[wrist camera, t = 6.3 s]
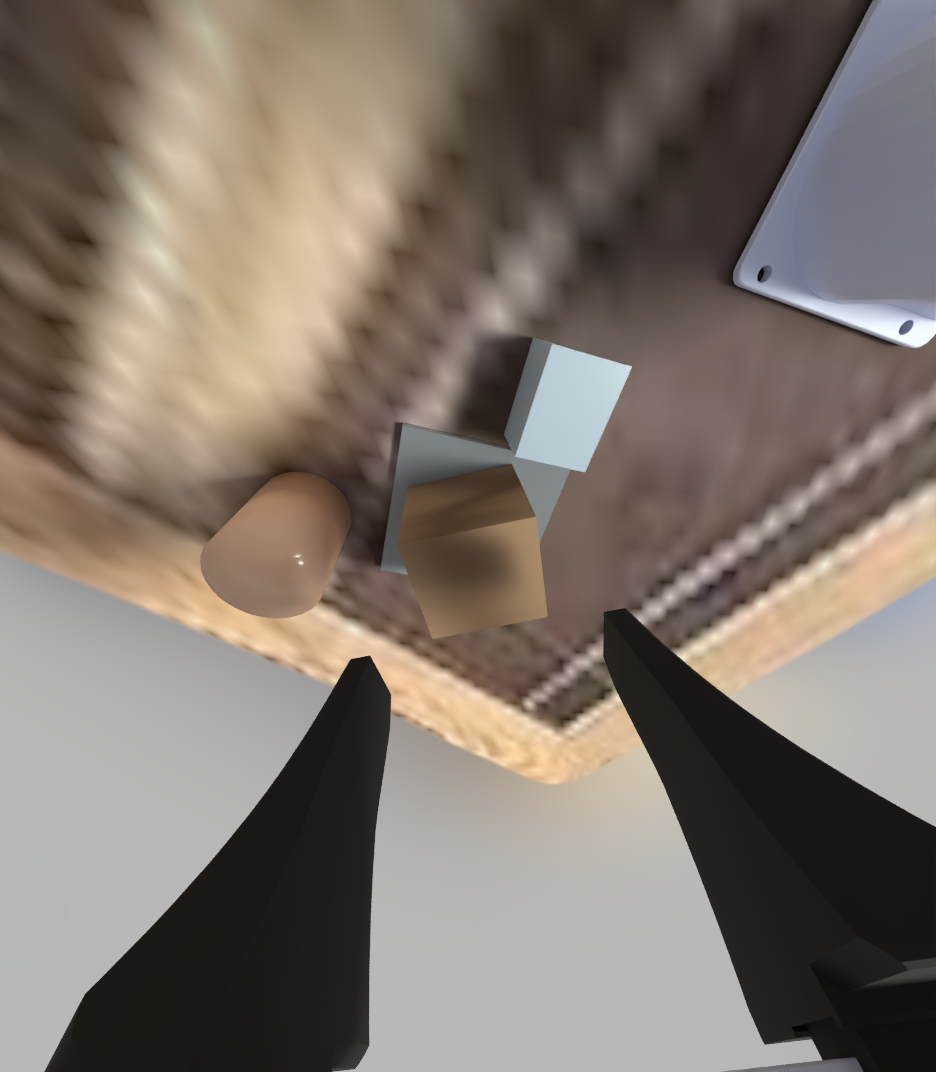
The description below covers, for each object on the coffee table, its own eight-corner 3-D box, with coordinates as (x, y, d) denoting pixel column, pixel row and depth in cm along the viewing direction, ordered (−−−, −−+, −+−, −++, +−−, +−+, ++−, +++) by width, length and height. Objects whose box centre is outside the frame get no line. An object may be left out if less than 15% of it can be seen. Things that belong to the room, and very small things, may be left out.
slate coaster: (569, 461, 17) (572, 464, 17) (517, 586, 21) (518, 591, 21) (403, 423, 16) (402, 425, 15) (381, 565, 20) (380, 570, 19)
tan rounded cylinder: (355, 482, 17) (327, 539, 13) (348, 555, 19) (322, 624, 15) (255, 462, 16) (192, 516, 12) (260, 541, 19) (208, 610, 14)
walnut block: (511, 463, 17) (536, 516, 12) (524, 549, 19) (547, 616, 15) (407, 486, 17) (397, 545, 13) (434, 568, 20) (432, 639, 15)
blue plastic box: (599, 356, 15) (631, 366, 12) (563, 447, 17) (585, 472, 14) (532, 337, 14) (552, 343, 12) (503, 433, 16) (515, 456, 14)
